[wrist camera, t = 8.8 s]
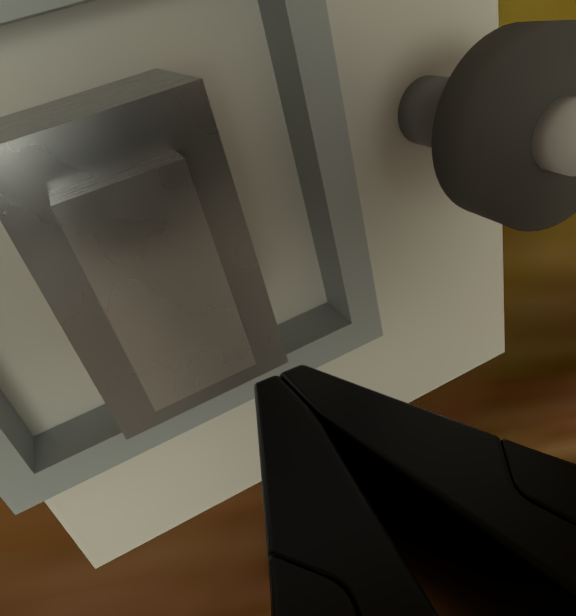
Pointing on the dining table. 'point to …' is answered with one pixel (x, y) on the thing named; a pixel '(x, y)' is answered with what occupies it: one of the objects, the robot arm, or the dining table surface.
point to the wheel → (511, 126)
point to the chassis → (256, 235)
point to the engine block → (139, 243)
